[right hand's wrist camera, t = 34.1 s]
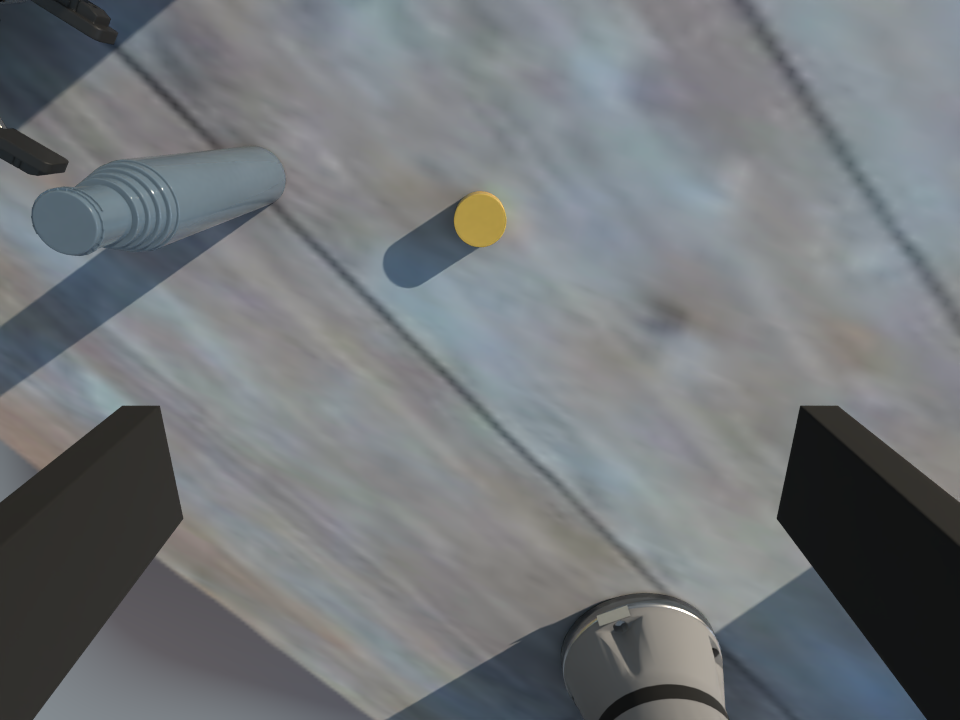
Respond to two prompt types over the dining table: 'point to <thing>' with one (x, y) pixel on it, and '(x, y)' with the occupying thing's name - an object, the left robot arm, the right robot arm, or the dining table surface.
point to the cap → (480, 219)
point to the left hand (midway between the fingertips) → (83, 104)
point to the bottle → (157, 199)
